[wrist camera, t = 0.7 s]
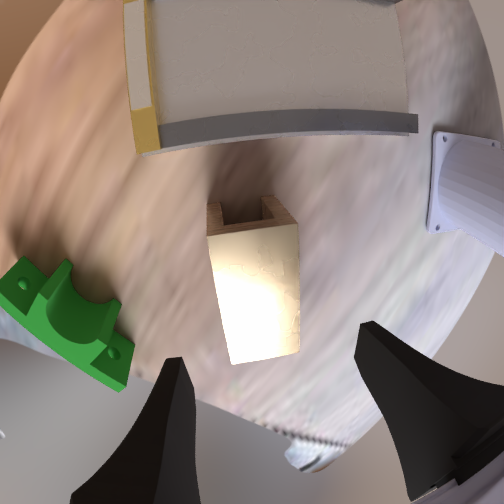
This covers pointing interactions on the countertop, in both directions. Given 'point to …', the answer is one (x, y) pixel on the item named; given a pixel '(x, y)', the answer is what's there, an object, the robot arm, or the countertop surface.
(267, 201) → the tan notched block
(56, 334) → the pipe clamp
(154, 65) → the silver channel bracket
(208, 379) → the countertop surface
